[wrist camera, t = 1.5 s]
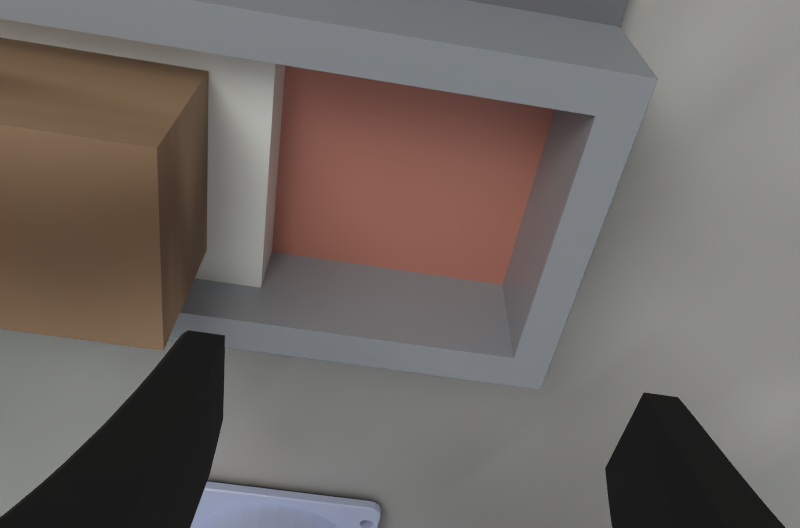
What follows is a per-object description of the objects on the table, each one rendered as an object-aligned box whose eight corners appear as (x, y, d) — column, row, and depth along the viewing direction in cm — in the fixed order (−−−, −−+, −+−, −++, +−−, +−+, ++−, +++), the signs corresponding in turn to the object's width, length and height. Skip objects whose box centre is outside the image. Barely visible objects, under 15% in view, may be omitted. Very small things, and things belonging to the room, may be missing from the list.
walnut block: (206, 250, 19) (163, 350, 16) (-25, 216, 19) (-117, 313, 16) (208, 70, 17) (156, 148, 13) (-64, 26, 16) (-186, 96, 13)
